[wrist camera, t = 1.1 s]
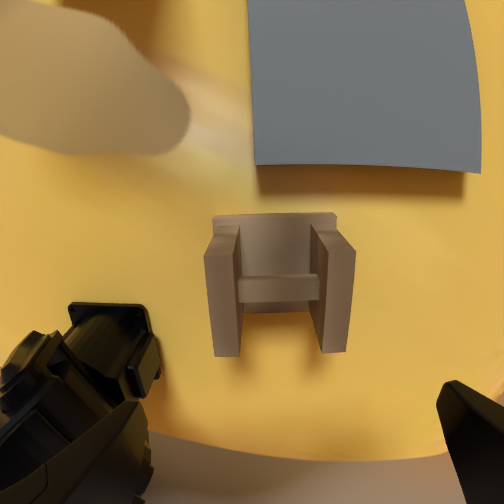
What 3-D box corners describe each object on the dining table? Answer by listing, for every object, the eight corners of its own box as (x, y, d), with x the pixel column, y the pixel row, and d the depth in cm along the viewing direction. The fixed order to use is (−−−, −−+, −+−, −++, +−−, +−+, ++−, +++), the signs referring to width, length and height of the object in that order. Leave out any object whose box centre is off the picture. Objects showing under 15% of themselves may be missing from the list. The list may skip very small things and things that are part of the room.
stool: (222, 304, 21) (209, 362, 15) (215, 214, 19) (195, 246, 13) (328, 301, 21) (350, 357, 15) (331, 211, 19) (363, 241, 13)
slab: (255, 163, 18) (254, 165, 16) (246, -42, 13) (244, -57, 11) (463, 170, 17) (480, 173, 15) (444, -14, 13) (457, -23, 11)
